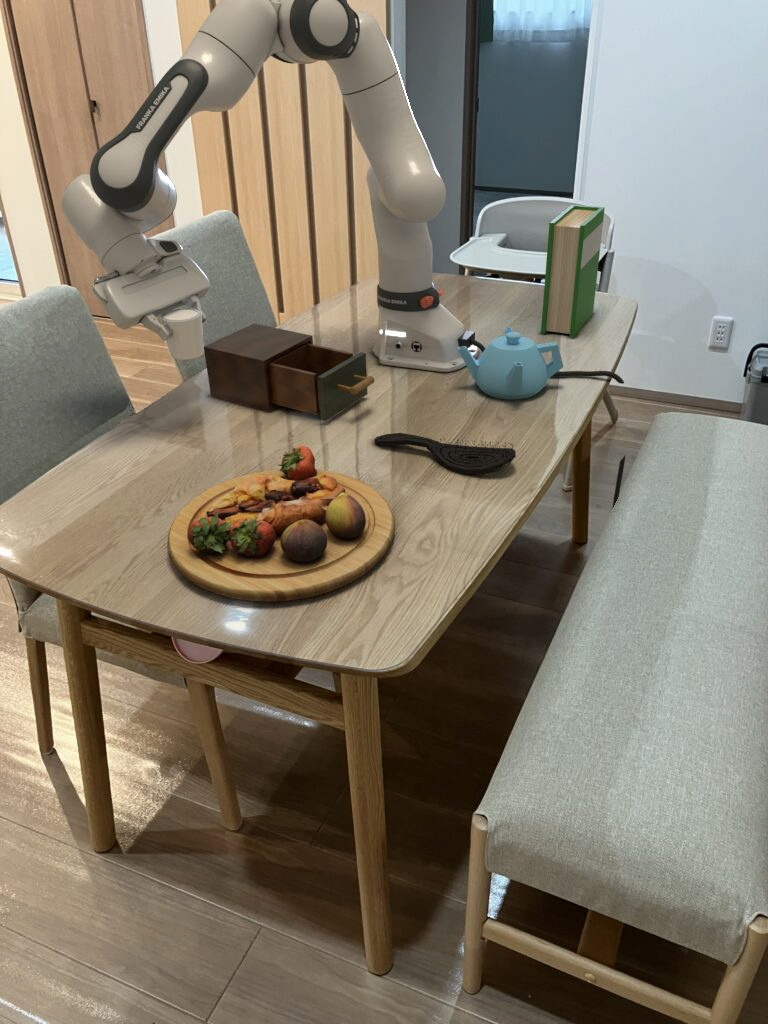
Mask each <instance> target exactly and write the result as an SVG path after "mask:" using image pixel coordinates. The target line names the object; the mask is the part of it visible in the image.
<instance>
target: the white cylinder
mask: <svg viewBox="0 0 768 1024" xmlns="http://www.w3.org/2000/svg"><path fill="white" fill-rule="evenodd" d="M160 321H161V324H162V325H163V326H165V325H168V326H169V327H170V329H171V330H172V331H173V335H172V336H171V338H169V339H167V340H166V343H167V346H168V350H169V353H170V357H171V358H173V360H174V359H175V360H178V361H186V360H187V361H189V360H193V359H194V360H195V359H197V358H199V357H202V356H203V355H205V353H204V346H205V345H204V332H203V324H202V313H201V312H200V311H199V310H196V309H192V308H191V309H189V308H176V309H174V310H172V311H169V312H166V313H164V314H162V315H160Z"/></svg>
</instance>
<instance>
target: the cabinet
mask: <svg viewBox="0 0 768 1024" xmlns="http://www.w3.org/2000/svg"><path fill="white" fill-rule="evenodd" d="M305 343H309V344H314V338H313V335H311V334H307V333H301V332H297V331H294V330H293V331H292V330H288V329H283V328H278V327H273V326H269V325H263V324H259V323H254V322H253V323H251V324H249V325H247V326H245V327H243V328H241V329H239V330H237V331H235V332H233V333H230V334H228V335H226V336H224V337H221V338H220V339H217V340H214V341H213V342H211V343H208V344H206V345H203V346H204V358H205V367H206V372H207V379H208V387H209V392H210V397H213V398H217V399H220V400H224V401H227V402H232V403H235V404H238V405H241V406H246V407H249V408H252V409H257V410H261V411H264V412H266V413H267V412H268V413H270V412H272V411H273V410H275V409H277V408H279V407H281V406H280V405H277V404H273V403H271V397H270V388H269V379H268V370H267V363H269V362H271V361H273V360H275V359H277V358H278V357H280V356H282V355H284V354H286V353H288V352H290V351H292V350H294V349H296V348H298V347H299V346H301V345H303V344H305Z"/></svg>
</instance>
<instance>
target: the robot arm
mask: <svg viewBox="0 0 768 1024" xmlns="http://www.w3.org/2000/svg"><path fill="white" fill-rule="evenodd" d="M270 57H272V58H274V59H275V60H278V61H280V62H283V63H286V64H292V65H293V64H299V65H311V64H315V63H316V62H318V61H323V62H324V61H325V62H326V64H327V65H328V66H329V67H330V69H331V70H332V72H333V74H334V75H335V79H336V82H337V85H338V87H339V88H338V89H339V91H340V93H341V97H342V99H343V103H344V106H345V109H346V111H347V114H348V117H349V119H350V122H351V125H352V128H353V130H354V134H355V136H356V139H357V140H358V143H360V146H361V148H362V150H363V152H364V153H365V156H366V158H367V159H368V161H369V165H368V167H367V171H366V176H365V178H366V184H367V189H368V193H369V200H370V207H371V216H372V222H373V228H374V233H375V238H376V246H377V247H376V248H377V265H378V270H377V271H378V284H377V285H376V303H377V308H378V320H377V329H376V336H375V341H374V345H373V348H372V351H373V354H374V355H375V356H376V357H377V358H378V361H379V362H378V363H379V364H381V365H384V366H385V365H386V366H391V367H392V366H393V367H399V368H400V367H401V368H409V369H416V370H423V371H432V372H440V373H449V372H450V373H451V372H454V371H457V370H460V369H462V368H464V367H467V365H466V364H465V362H464V360H463V358H462V356H461V354H460V352H459V350H458V347H462V346H466V347H467V349H468V350H469V352H470V353H471V354H472V356H473V357H474V358H475V359H476V358H477V357H478V355H479V350H480V351H481V354H482V353H483V352H484V350H485V349H486V347H485V346H484V345H483V344H482V343H481V342H479V341H477V340H476V331H472V330H466V327H465V325H464V323H462V322H461V321H460V320H459V319H458V318H457V317H456V316H454V315H453V314H452V313H451V312H450V311H449V310H448V309H447V308H446V307H444V305H442V304H441V300H440V297H442V296H444V293H443V292H444V291H445V289H440V290H439V291H438V290H437V288H436V286H435V284H434V283H433V251H434V250H433V248H434V247H433V242H432V239H431V237H430V233H429V228H428V223H427V222H429V221H431V220H433V219H434V218H436V217H437V216H438V215H439V214H440V213H441V211H442V210H443V208H444V206H445V203H446V198H447V189H446V185H445V183H444V181H443V178H442V177H441V174H440V173H439V171H438V169H437V167H436V164H435V162H434V159H433V157H432V154H431V152H430V150H429V148H428V145H427V143H426V140H425V139H424V137H423V135H422V132H421V130H420V128H419V126H418V124H417V121H416V118H415V117H414V114H413V111H412V109H411V105H410V102H409V99H408V96H407V93H406V92H407V91H406V89H405V86H404V83H403V80H402V77H401V74H400V70H399V67H398V64H397V61H396V58H395V56H394V53H393V50H392V48H391V45H390V43H389V41H388V38H387V36H386V35H385V31H384V30H383V28H382V26H381V25H380V23H379V21H378V19H377V18H376V17H375V16H374V15H373V14H371V13H369V12H367V11H359V10H358V11H355V10H354V9H353V8H352V7H351V6H350V4H349V2H348V0H219V2H218V3H216V5H215V6H214V8H213V9H212V10H211V12H210V13H209V14H208V16H207V17H206V18H205V20H204V22H203V23H202V24H201V26H200V27H199V29H198V30H197V32H196V34H195V36H194V37H193V39H192V41H190V44H189V45H188V47H187V48H186V50H185V51H184V52H183V54H182V55H181V56H180V58H179V59H178V60H177V62H175V63H174V64H173V65H172V66H171V67H170V68H169V69H168V70H167V72H166V73H165V74H164V75H163V76H162V77H161V79H160V80H159V81H158V83H157V84H156V85H155V87H154V88H153V89H152V91H151V92H150V93H149V95H148V96H147V98H146V99H145V100H144V101H143V103H142V105H141V106H140V107H139V109H138V110H137V112H136V113H135V114H134V115H133V117H132V118H131V120H130V121H129V122H128V123H127V125H126V126H125V127H124V128H123V130H122V131H121V132H119V134H117V135H115V136H114V137H113V138H111V139H110V140H109V141H107V142H106V143H105V144H103V145H102V146H101V147H100V148H99V149H98V150H97V151H96V153H95V154H94V156H93V158H92V160H91V163H90V168H89V174H88V173H84V174H81V175H78V176H77V177H75V178H74V179H73V180H72V181H70V182H69V184H68V185H66V187H65V189H64V191H63V194H62V197H61V208H62V212H63V214H64V216H65V218H66V220H67V221H68V223H69V225H71V227H72V229H73V231H74V232H75V233H76V235H77V236H78V237H79V239H80V240H81V241H82V243H83V244H84V245H85V246H86V247H87V249H89V250H91V251H92V252H93V253H94V254H95V255H96V257H97V260H98V261H99V263H100V266H101V267H102V268H103V269H104V270H105V271H106V273H107V274H105V275H103V276H102V275H101V276H97V277H96V278H94V280H93V282H92V284H91V289H92V292H93V294H94V295H95V296H96V297H97V299H98V300H100V302H101V305H102V306H103V309H104V310H105V311H106V313H107V315H108V316H109V318H110V319H111V321H112V322H113V323H114V325H115V326H116V327H117V328H119V329H121V330H124V331H125V330H128V329H130V328H132V327H135V326H138V325H140V324H142V325H143V327H144V328H145V329H147V330H149V331H151V332H153V333H155V334H157V335H158V337H159V338H160V339H161V340H162V341H163V342H165V341H167V339H169V338H171V336H172V335H173V331H172V330H171V329H170V327H169V326H168V325H165V326H163V325H162V323H160V322H159V321H157V320H156V318H157V317H159V316H161V315H163V314H164V313H166V312H169V311H172V310H176V309H180V308H181V307H184V306H186V307H187V309H196V310H199V311H200V312H201V313H202V325H203V324H205V322H207V316H206V315H205V313H204V312H203V311H202V306H201V299H202V298H204V297H206V294H207V293H208V291H209V290H210V288H211V284H210V279H209V278H208V277H207V275H206V274H205V273H204V272H203V270H202V269H201V268H200V267H199V266H198V264H197V263H196V262H195V260H193V258H191V257H190V256H189V255H188V254H185V253H182V251H183V247H182V245H181V244H180V243H179V242H178V241H176V240H167V239H166V240H164V239H155V238H147V236H146V235H145V233H147V232H149V231H150V230H152V229H154V228H156V227H158V226H159V225H161V224H162V223H164V222H166V221H167V220H168V219H169V218H170V217H171V216H172V214H173V212H174V211H175V209H176V206H177V201H178V195H177V189H176V186H175V184H174V182H173V181H172V180H171V178H170V177H169V176H168V175H167V173H165V172H164V171H163V170H162V169H161V167H159V164H160V160H161V157H162V156H163V154H164V153H165V151H166V150H167V148H168V147H169V145H170V144H171V143H172V141H173V140H174V138H175V137H176V136H177V134H178V133H179V132H180V130H181V129H182V127H183V126H184V124H185V123H186V122H187V121H188V119H190V118H191V117H192V116H193V115H195V114H197V113H199V112H204V111H205V112H211V113H222V112H227V111H229V110H232V109H233V108H234V107H235V106H236V105H237V104H238V103H239V102H240V101H241V100H242V98H244V96H245V95H246V94H247V92H248V90H249V89H250V88H251V86H252V84H253V83H254V82H255V79H256V77H257V76H258V75H259V73H260V71H261V69H262V67H263V65H264V63H266V61H267V60H269V58H270ZM478 349H479V350H478ZM552 377H560V378H561V377H562V378H563V377H608V378H612V379H613V380H615V381H616V382H617V383H618V384H625V381H624V379H623V378H622V377H621V376H620V375H618V374H617V373H615V372H613V371H609V370H593V371H587V370H586V371H585V370H566V371H565V370H564V371H558V372H556V373H555V374H554V375H553V376H552ZM626 455H627V454H624V456H623V457H622V458H621V460H620V461H619V464H618V470H617V476H616V482H615V483H616V484H615V487H614V495H613V500H612V501H613V502H612V509H613V507H614V505H615V503H616V501H617V499H618V497H619V498H620V492H621V487H622V480H623V475H624V468H625V461H626ZM618 500H619V499H618ZM612 509H611V510H612Z"/></svg>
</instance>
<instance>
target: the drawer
mask: <svg viewBox="0 0 768 1024" xmlns="http://www.w3.org/2000/svg"><path fill="white" fill-rule="evenodd" d="M267 370H268V379H269V388H270V397H271V403H273V404H277V405H280V406H279V407H284V408H288V409H291V410H296V411H299V412H303V413H307V414H311V415H315V416H318V415H320V420H321V421H324V422H328V421H329V420H330V419H332V418H333V417H335V416H337V415H338V414H340V413H341V412H342V411H344V410H346V409H347V408H349V407H350V406H352V405H353V404H355V403H356V402H358V401H359V400H361V399H363V398H364V397H366V396H367V395H368V394H369V393H368V387H370V386H371V385H372V384H374V383H375V378H374V376H372V375H368V369H367V353H366V352H363V351H359V352H357V353H356V354H355V355H354V353H353V352H350V351H345V350H341V349H337V348H333V347H327V346H323V345H319V344H314V343H313V344H309V343H305V344H303V345H301V346H299V347H298V348H296V349H294V350H292V351H290V352H288V353H286V354H284V355H282V356H280V357H278V358H277V359H275V360H273V361H271V362H269V363H267Z"/></svg>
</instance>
